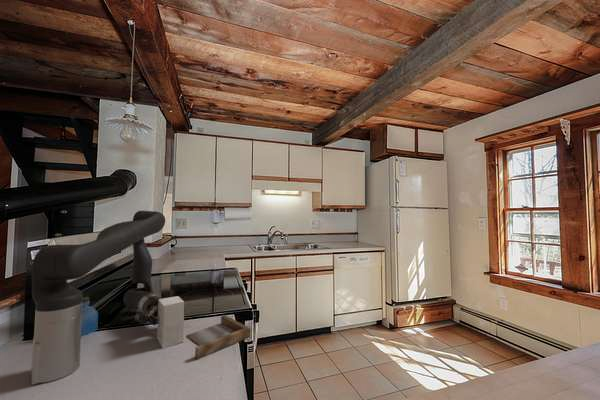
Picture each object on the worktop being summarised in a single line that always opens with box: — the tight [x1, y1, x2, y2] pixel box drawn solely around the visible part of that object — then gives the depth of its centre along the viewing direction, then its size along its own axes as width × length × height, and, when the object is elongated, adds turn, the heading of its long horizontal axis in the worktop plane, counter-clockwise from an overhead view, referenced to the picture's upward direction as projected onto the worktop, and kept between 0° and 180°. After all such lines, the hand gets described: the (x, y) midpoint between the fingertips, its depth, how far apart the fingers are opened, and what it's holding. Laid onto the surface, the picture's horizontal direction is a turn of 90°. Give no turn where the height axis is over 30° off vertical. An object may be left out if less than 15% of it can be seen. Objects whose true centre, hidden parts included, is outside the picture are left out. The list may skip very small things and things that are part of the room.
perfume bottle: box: [81, 296, 99, 338], centre depth 90 cm, size 6×6×12 cm
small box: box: [156, 295, 185, 349], centre depth 85 cm, size 8×6×13 cm
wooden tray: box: [186, 314, 252, 360], centre depth 86 cm, size 18×16×3 cm
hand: (169, 317), depth 86 cm, fingers open, 8 cm apart
